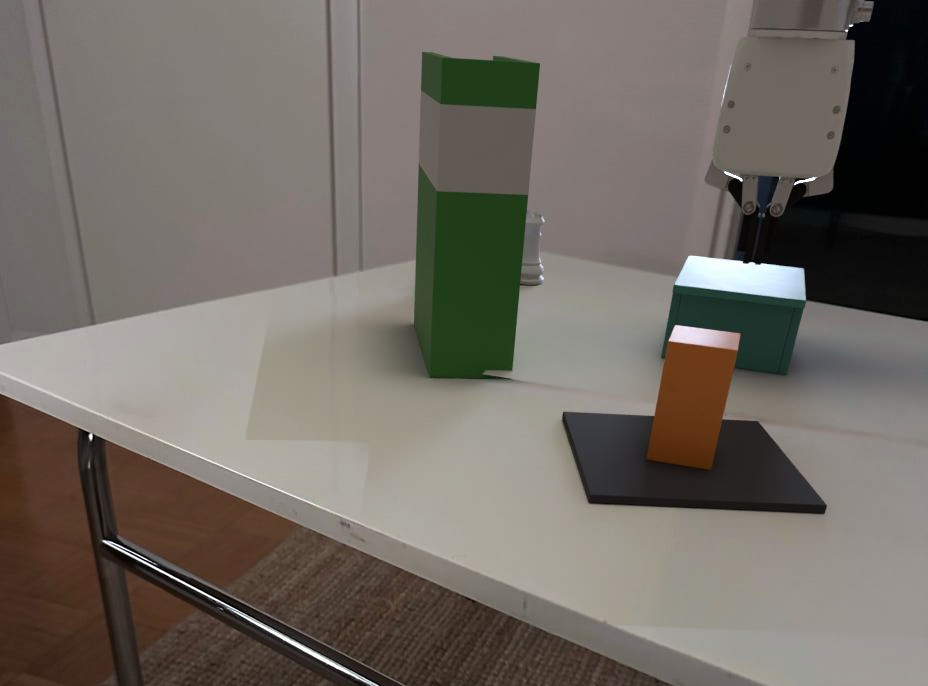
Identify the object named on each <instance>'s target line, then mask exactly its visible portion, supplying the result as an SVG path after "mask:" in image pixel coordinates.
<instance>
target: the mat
mask: <svg viewBox="0 0 928 686" xmlns="http://www.w3.org/2000/svg"><path fill="white" fill-rule="evenodd" d="M561 419H562V421H563V425H564V428H565V431H566V434H567V437H568V441H569V444H570V446H571V449H572V452H573V456H574V459H575V462H576V465H577V468H578V471H579V472H578V473H579V475H580V478H581V481H582V483H583V484H582V485H583V487H584V490H585V493H586V496H587V500H588V502H589V503H590V504H592V503H593V504H613V505H614V504H615V505H634V506H635V505H637V506H658V507H660V506H661V507H677V508H678V507H680V508H681V507H682V508H703V509H704V508H705V509H725V510H746V511H747V510H748V511H767V512H768V511H771V512H775V511H776V512H791V513H793V512H794V513H815V514H818V513H819V514H826V511H827V509H828V504H827V503H826V501H824V499H822V497H821V496H820V495H819V494H818V492H817V491H816V490H815V489H814V488H813V486H812V485H811V484H810V483H809V481H808V480H807V479H806V478H805V477H804V475H803V474H802V473H801V471H800V470H799V468H797V467H796V466H795V464H794V463H793V462H792V461H791V459H790V458H789V457H788V455H787V454H786V453H785V452H784V451H783V449H781V447H780V446H779V445H778V444H777V442H776V441H775V440H774V438H773V437H772V436H771V435H770V434H769V433H768V431H767V430H766V429H765V428H764V427H763V425H762V424H761V423H760V422H759V421H758V420H747V419H745V420H744V419H724V418H723V419H722V423H721V428H720V432H719V437H718V441H717V445H716V450H715V454H714V459H713V463H712V468H711V470H707V469H701V468H695V467H689V466H683V465H677V464H671V463H665V462H658V461H652V460H647V453H648V448H649V443H650V437H651V432H652V426H653V421H654V415H643V414H625V413H624V414H622V413H621V414H620V413H602V412H581V411H580V412H579V411H562V416H561Z"/></svg>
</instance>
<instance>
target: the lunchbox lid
mask: <svg viewBox="0 0 928 686" xmlns="http://www.w3.org/2000/svg"><path fill="white" fill-rule="evenodd" d="M805 277H806V276H805V268H803V267H795V266H785V265H778V264H777V265H776V264H767V263H761V265H755V263H753V262H751V263H750V262H749V264H744V263H743V260H734V259H733V260H732V259H726V258H725V259H723V258H716V257H715V258H714V257H708V256H698V255H688V256H687V258H686V260H685V261H684V264H683V266H682V267H681V270H680V272H679V274H678V275H677V278H676V279H675V282H674V284H673V286H672V294H673V293H680V294H688V295H696V296H704V297H712V298H720V299H728V300H736V301H745V302H753V303H761V304H769V305H777V306H785V307H793V308H802V309H804V310H805V308H806V304H807V292H806V279H805Z"/></svg>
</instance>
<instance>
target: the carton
mask: <svg viewBox="0 0 928 686" xmlns="http://www.w3.org/2000/svg"><path fill="white" fill-rule="evenodd" d="M740 336H741V334H740V333H733V332H726V331H718V330H710V329H703V328H695V327H687V326H680V325H675V326H674V328H673V331H672V333H671V336H670V338H669V340H668V344H667V350H666V355H665V359H664V361H663V367H662V372H661V378H660V382H659V388H658V394H657V400H656V404H655V410H654V415H653V416H654V421H653V426H652V432H651V437H650V443H649V448H648V453H647V460H652V461H658V462H665V463H671V464H677V465H683V466H689V467H695V468H701V469H707V470H711V468H712V463H713V459H714V454H715V450H716V445H717V441H718V437H719V432H720V428H721V423H722V419H724V414H725V409H726V404H727V400H728V396H729V392H730V387H731V383H732V378H733V374H734V370H735V368H734V366H735V361H736V357H737V352H738V347H739V341H740Z"/></svg>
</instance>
